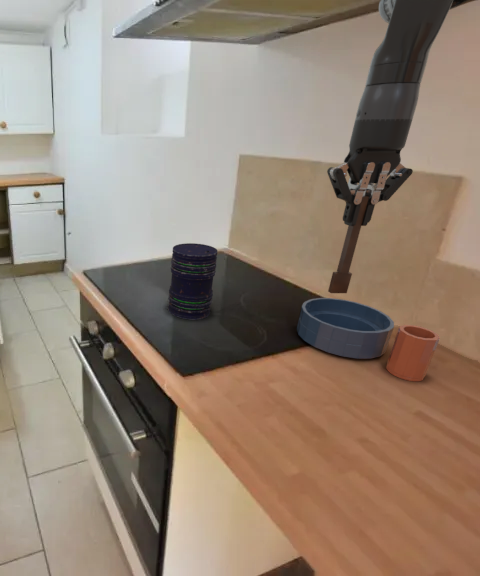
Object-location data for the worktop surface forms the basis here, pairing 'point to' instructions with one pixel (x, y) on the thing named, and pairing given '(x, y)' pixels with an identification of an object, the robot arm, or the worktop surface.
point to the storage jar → (192, 280)
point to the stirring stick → (347, 254)
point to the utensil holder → (412, 352)
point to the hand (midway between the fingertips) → (355, 224)
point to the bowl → (345, 328)
